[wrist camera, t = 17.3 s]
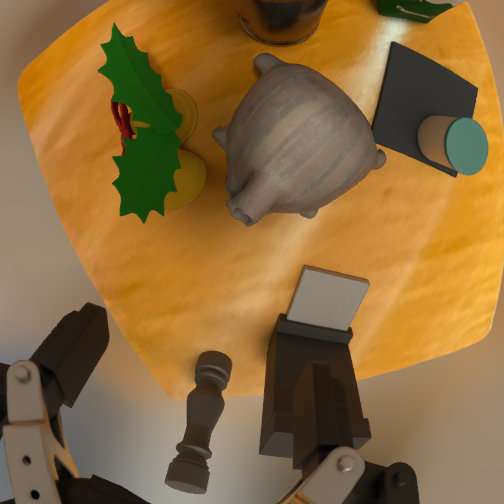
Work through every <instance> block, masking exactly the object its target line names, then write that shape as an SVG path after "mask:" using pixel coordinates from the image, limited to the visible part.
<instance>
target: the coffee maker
mask: <svg viewBox="0 0 504 504" xmlns="http://www.w3.org/2000/svg"><path fill="white" fill-rule="evenodd" d="M369 286H370V283H369V281H368V280H366V279H362V278H357V277H353V276H349V275H345V274H340V273H336V272H332V271H328V270H324V269H319V268H315V267H311V266H307V265H304V268H303V271H302V274H301V277H300V279H299V282H298V285H297V288H296V291H295V293H294V296H293V299H292V301H291V304H290V307H289V310H288V312H287V315H285V314H280V315H279V318H278V321H277V324H276V327H275V329H274V332H273V335H272V337H271V340H270V343H269V349H268V352H267V361H266V375H265V388H264V401H263V413H262V426H261V436H260V448H259V454H261V455H268V456H276V457H286V458H293V395H294V390H295V386H296V384H297V382H298V380H299V378H300V376H301V375H302V373H303V371H304V369H305V367H306V365H307V364H308V362H309V361H316V362H322V363H328V364H329V365H330V368H331V375H332V377H333V378H339V379H340V381H341V383H342V384H343V386H344V388H345V390H346V396H347V403H348V408H349V410H348V412H349V415H350V422H351V429H352V436H353V444H354V448H355V450H358V449H359V448H361V447H362V446H363V445H364V444H365V443H366V442H367V441H368V440H370V439H371V432H370V426H369V421H368V419H367V418H363V413H362V408H361V403H360V398H359V393H358V388H357V383H356V378H355V373H354V368H353V364H352V359H351V355H350V350H349V346H348V344H349V342H350V340H351V338H352V337H353V333H352V329H351V327H349V326H350V324H351V322H352V320H353V318H354V316H355V314H356V312H357V310H358V308H359V306H360V304H361V302H362V300H363V298H364V296H365V294H366V292H367V290H368V288H369Z"/></svg>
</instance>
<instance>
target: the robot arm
mask: <svg viewBox="0 0 504 504" xmlns="http://www.w3.org/2000/svg"><path fill="white" fill-rule="evenodd" d="M233 1H234V3H235V6H236V8H237V11H238V13H239V16H240V20H241V22H242V25H243V27H244V29H245V30H246V31H247V32H248V34H249V35H250V36H252V37H253V38H254V39H256V40H258V41H259V42H262V43H264V44H267V45H271V46H278V47H285V46H292V45H296V44H299V43H301V42H303V41H305V40H307V39H308V38H309V37H310V36H311V35H312V34H313V33H314V32H315V30H316V29H317V27H318V24H319V21H320V18H321V16H322V13H323V11H324V9H325V7H326V4H327V2H328V0H233ZM232 3H233V2H232ZM233 5H234V4H233ZM235 6H234V7H235ZM236 8H235V9H236ZM108 343H109V328H108V320H107V312H106V309H105V308H103V307H101V306H98V305H95V304H92V303H89V302H88V303H86V304H85V305H84V306H83V307H82V309H81V310H80V311H79V312H77V311H75V310H74V311H73V312H71V313H69V314H67V315H66V316H64V317H63V318H62V320H61V321H60V322H59V323H58V324H57V327H55V328H54V329H53V330H52V331H51V334H49V335H48V336H47V338H46V339H45V340H44V341H43V342H42V344H41V345H40V346H39V348H38V349H37V350H36V352H35V353H34V354H33V355H32V357H31V358H30V359H29V360H19V361H17V362H14V363H13V364H12V365H7V364H3V363H0V440H1V438H2V436H3V440H4V447H5V455H6V461H7V466H8V472H9V477H10V482H11V486H12V491H13V495H14V498H13V499H10V500H7V501H4V502H0V504H151V503H149V502H147V501H145V500H143V499H142V498H140V497H138V496H137V495H135V494H133V493H132V492H130V491H129V490H127V489H125V488H124V487H122V486H120V485H117V484H115V483H112V482H110V481H108V480H105V479H103V478H100V477H98V476H96V475H94V474H93V475H92V477H91V479H90V478H79V475H78V472H77V469H76V467H75V464H74V462H73V460H72V458H71V456H70V454H69V450H68V447H67V443H66V438H65V434H64V430H63V425H62V420H61V415H60V411H59V409H60V407H61V406H62V404H64V405H66V406H68V407H70V408H72V406H73V404H74V403H75V401H76V399H77V397H78V395H79V394H80V392H81V390H82V389H83V387H84V385H85V383H86V382H87V380H88V378H89V377H90V375H91V373H92V372H93V370H94V368H95V367H96V365H97V363H98V362H99V360H100V358H101V357H102V355H103V354H104V352H105V350H106V348H107V346H108ZM348 410H349V408H348V403H347V396H346V390H345V388H344V386H343V384H342V383H341V381H340V379H339V378H333V377H332V375H331V368H330V365H329V364H328V363H322V362H316V361H309V362H308V364H307V365H306V367H305V369H304V371H303V373H302V375H301V376H300V378H299V380H298V382H297V384H296V386H295V390H294V395H293V469H298V470H299V469H300V470H302V477H301V478H300V479H299V480H298V482H297V483H296V484H295V485H294V486H293V487H292V488H291V489H290V490H289V491H288V492H287V493H286V494H285V495H284V496H283V497H282V498H281V499H280V500H279V501H278V502H277V503H276V504H420V503H419V494H418V486H417V479H416V474H415V471H414V470H413V469H412V467H411V466H409V465H408V464H406V463H402V462H397V463H394V464H392V465H390V466H389V467H384V466H380V465H377V464H373V463H370V462H367V461H365V460H364V459H363V457H362V455H361V454H360V453H359V452H358V451H357V450H355V448H354V444H353V436H352V429H351V422H350V415H349V412H348Z"/></svg>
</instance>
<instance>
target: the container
mask: <svg viewBox="0 0 504 504" xmlns="http://www.w3.org/2000/svg"><path fill="white" fill-rule="evenodd" d="M418 144H419V147H420V149H421V151H422V153H423V154H424V155H425V156H426V157H427V158H428V159H429V160H431V161H434V162H436V163H439V164H441V165H444V166H446V167H449V168H451V169H454V170H455V171H457V172H459V173H461V174H463V175H473V174H476V173H477V172H479V171H480V170H481V169H482V168H483V166H484V164H485V162H486V160H487V156H488V141H487V137H486V134H485V132H484V130H483V128H482V127H481V126H480V125H479V124H478V123H477V122H476V121H475V120H473V119H470V118H465V117H461V118H457V117H447V116H430V117H427V118H426V119H425V120H424V121H423V122H422V123H421V125H420V127H419V130H418Z"/></svg>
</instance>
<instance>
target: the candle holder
mask: <svg viewBox="0 0 504 504" xmlns="http://www.w3.org/2000/svg"><path fill="white" fill-rule="evenodd" d="M231 369H232V362H231V359H230V358H229V357H228V356H226V355H225V354H223V353H221V352H216V351H207V352H204V353H202V354H201V356H200V357H199V360H198V363H197V366H196V370H195V383H196V385H197V386H196V388H195V389H193V390H192V391H191V392H190V393H189V395H188V397H187V427H186V431H185V434H184V438H183V441H182V442H180V443H178V444H177V446H176V450H177V451H178V452H179V454H178V455H177V457H176V458H174V459H173V462H171V463H170V464H169V468H168V472H167V475H166V479H165V484H167V485H168V486H170V487H172V488H174V489H177V490H180V491H183V492H187V493H194V494H204V493H206V490H207V484H208V479H209V474H210V473H209V471H208V469H209V468H208V466H207V462H206V460H207V459H209V458H211V455H212V452H211V451H210V449H209V442H210V437H211V433H212V431H213V429H214V427H215V425H216V423H217V421H218V419H219V417H220V415H221V413H222V411H223V409H224V405H225V403H224V400H223V397H222V395H221V394H222V392H221V391H223V390H224V389H225V388H226V386H227V383H228V382H229V379H230V374H231Z"/></svg>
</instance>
